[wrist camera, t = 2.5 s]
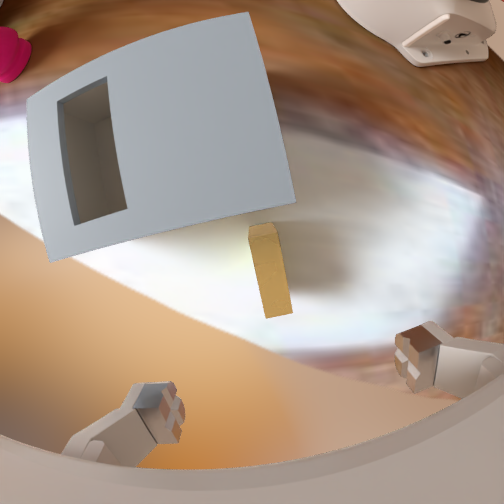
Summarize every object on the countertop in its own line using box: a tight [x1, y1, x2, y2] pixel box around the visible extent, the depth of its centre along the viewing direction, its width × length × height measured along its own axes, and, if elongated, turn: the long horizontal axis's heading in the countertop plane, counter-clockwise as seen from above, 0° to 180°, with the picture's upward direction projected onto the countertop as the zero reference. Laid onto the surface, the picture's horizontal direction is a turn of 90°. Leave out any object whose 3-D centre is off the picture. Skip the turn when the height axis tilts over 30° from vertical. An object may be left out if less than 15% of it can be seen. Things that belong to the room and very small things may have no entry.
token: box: [248, 222, 293, 318], centre depth 23 cm, size 2×6×6 cm, turn 12°
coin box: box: [27, 12, 296, 263], centre depth 19 cm, size 16×12×10 cm
